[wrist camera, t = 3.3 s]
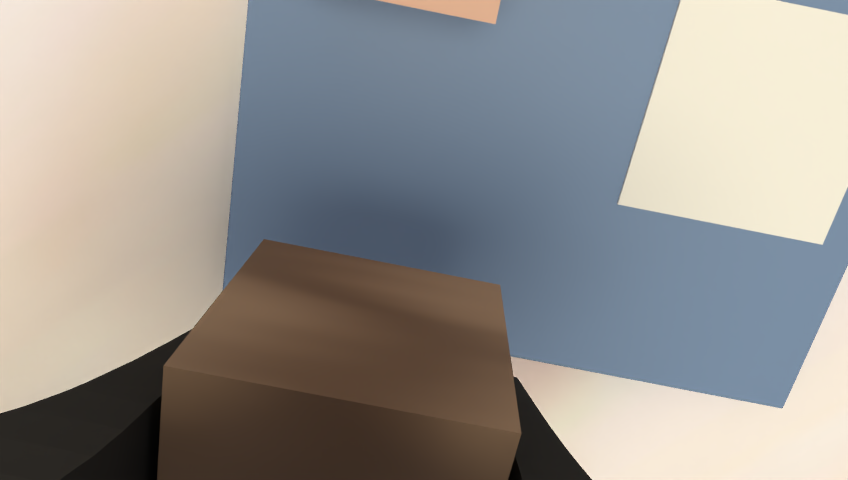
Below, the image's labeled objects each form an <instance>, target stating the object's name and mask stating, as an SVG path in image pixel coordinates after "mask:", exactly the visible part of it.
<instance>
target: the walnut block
mask: <svg viewBox="0 0 848 480" xmlns="http://www.w3.org/2000/svg"><path fill="white" fill-rule="evenodd" d="M520 437H521V427H520V420H519V413H518V406H517V399H516V392H515V385H514V378H513V371H512V364H511V357H510V350H509V343H508V336H507V329H506V322H505V315H504V308H503V301H502V294H501V287H500V285H499V284H493V283H488V282H483V281H478V280H473V279H468V278H463V277H457V276H452V275H447V274H442V273H437V272H432V271H427V270H421V269H416V268H411V267H406V266H401V265H396V264H390V263H385V262H380V261H375V260H370V259H365V258H360V257H354V256H349V255H344V254H339V253H334V252H329V251H324V250H318V249H313V248H308V247H303V246H298V245H293V244H288V243H282V242H277V241H272V240H267V239H263V241H262V242H261V243H260V244H259V246H258V247H257V248H256V250H255V251H254V252H253V253H252V255H251V256H250V257H249V258H248V260H247V261H246V262H245V263H244V265H243V266H242V267H241V268H240V270H239V271H238V272H237V273H236V275H235V276H234V277H233V279H232V280H231V281H230V282H229V284H228V285H227V286H226V287H225V289H224V290H223V291H222V292H221V294H220V295H219V296H218V297H217V299H216V300H215V301H214V303H213V304H212V305H211V306H210V308H209V309H208V310H207V311H206V313H205V314H204V315H203V316H202V318H201V319H200V320H199V321H198V323H197V324H196V325H195V326H194V328H193V329H192V330H191V332H190V333H189V334H188V335H187V337H186V338H185V339H184V340H183V342H182V343H181V344H180V345H179V347H178V348H177V349H176V350H175V352H174V353H173V354H172V356H171V357H170V358H169V359H168V361H167V362H166V363H165V364H164V366H163V383H162V400H161V418H160V435H159V453H158V470H157V480H508V478H509V474H510V471H511V468H512V464H513V461H514V457H515V454H516V450H517V447H518V444H519V440H520Z"/></svg>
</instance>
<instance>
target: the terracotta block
mask: <svg viewBox="0 0 848 480" xmlns="http://www.w3.org/2000/svg"><path fill="white" fill-rule="evenodd" d="M378 1H383V2H388V3H393V4H397V5H402V6H407V7H412V8H417V9H422V10H427V11H432V12H437V13H442V14H447V15H452V16H457V17H462V18H467V19H472V20H477V21H482V22H487V23H492V24H496V20H497V15H498V10H499V6H500V1H501V0H378Z"/></svg>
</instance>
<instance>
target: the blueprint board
mask: <svg viewBox="0 0 848 480" xmlns="http://www.w3.org/2000/svg"><path fill="white" fill-rule="evenodd" d="M263 239H267V240H272V241H277V242H282V243H288V244H293V245H298V246H303V247H308V248H313V249H318V250H324V251H329V252H334V253H339V254H344V255H349V256H354V257H360V258H365V259H370V260H375V261H380V262H385V263H390V264H396V265H401V266H406V267H411V268H416V269H421V270H427V271H432V272H437V273H442V274H447V275H452V276H457V277H463V278H468V279H473V280H478V281H483V282H488V283H493V284H499V285H500V287H501V294H502V301H503V308H504V315H505V322H506V329H507V336H508V343H509V350H510V356H513V357H518V358H523V359H528V360H533V361H539V362H544V363H549V364H554V365H559V366H565V367H570V368H575V369H580V370H585V371H591V372H596V373H601V374H606V375H611V376H617V377H622V378H627V379H632V380H637V381H643V382H648V383H653V384H658V385H663V386H669V387H674V388H679V389H684V390H689V391H695V392H700V393H705V394H710V395H715V396H721V397H726V398H731V399H736V400H741V401H747V402H752V403H757V404H762V405H767V406H773V407H778V408H783V406H784V404H785V402H786V400H787V397H788V395H789V393H790V391H791V389H792V386H793V384H794V382H795V380H796V378H797V375H798V373H799V371H800V369H801V367H802V364H803V362H804V360H805V358H806V356H807V353H808V351H809V349H810V347H811V345H812V342H813V340H814V338H815V336H816V334H817V331H818V329H819V327H820V325H821V323H822V320H823V318H824V316H825V314H826V312H827V310H828V307H829V305H830V303H831V301H832V299H833V296H834V294H835V292H836V290H837V288H838V285H839V283H840V281H841V279H842V277H843V274H844V272H845V270H846V268H847V266H848V0H501V1H500V6H499V10H498V15H497V20H496V24H492V23H487V22H482V21H477V20H472V19H467V18H462V17H457V16H452V15H447V14H442V13H437V12H432V11H427V10H422V9H417V8H412V7H407V6H402V5H397V4H393V3H388V2H383V1H378V0H248V11H247V23H246V34H245V45H244V57H243V68H242V79H241V91H240V102H239V113H238V124H237V136H236V147H235V158H234V170H233V181H232V192H231V204H230V215H229V226H228V237H227V249H226V260H225V271H224V283H223V290H224V289H225V287H226V286H227V285H228V284H229V282H230V281H231V280H232V279H233V277H234V276H235V275H236V273H237V272H238V271H239V270H240V268H241V267H242V266H243V265H244V263H245V262H246V261H247V260H248V258H249V257H250V256H251V255H252V253H253V252H254V251H255V250H256V248H257V247H258V246H259V244H260V243H261V242H262V241H263Z"/></svg>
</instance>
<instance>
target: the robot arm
mask: <svg viewBox="0 0 848 480" xmlns="http://www.w3.org/2000/svg"><path fill="white" fill-rule="evenodd" d="M191 330H192V329H191ZM191 330H190V331H188V332H186V333H184V334H182V335H181V336H179V337H177V338H175V339H173V340H171V341H170V342H168V343H166V344H164V345H162V346H160V347H158V348H156V349H155V350H153V351H151V352H149V353H147V354H145V355H143V356H141V357H139V358H138V359H136V360H134V361H132V362H129V363H127V364H125V365H123V366H121V367H119V368H117V369H114V370H112V371H110V372H108V373H106V374H104V375H102V376H99V377H97V378H95V379H93V380H91V381H89V382H87V383H84V384H82V385H79V386H77V387H75V388H72V389H70V390H67V391H65V392H62V393H60V394H57V395H54V396H51V397H49V398H46V399H43V400H40V401H38V402H35V403H32V404H29V405H26V406H23V407H20V408H17V409H14V410H11V411H7V412H4V413H0V480H157V470H158V453H159V435H160V418H161V400H162V383H163V366H164V364H165V363H166V362H167V361H168V359H169V358H170V357H171V356H172V354H173V353H174V352H175V350H176V349H177V348H178V347H179V345H180V344H181V343H182V342H183V340H184V339H185V338H186V337H187V335H188V334H189V333H190V332H191ZM513 378H514V385H515V392H516V399H517V406H518V413H519V420H520V427H521V437H520V440H519V444H518V447H517V450H516V454H515V457H514V461H513V464H512V468H511V471H510V474H509V478H508V480H592V479H591V478H590V477H589V476H588V475H587V473H586V472H585V471H584V470H583V469H582V467H581V466H580V465H579V464H578V463H577V461H576V460H575V459H574V458H573V456H572V455H571V454H570V453H569V451H568V450H567V449H566V448H565V446H564V445H563V444H562V442H561V441H560V440H559V438H558V437H557V435H556V434H555V433H554V431H553V430H552V429H551V427H550V426H549V424H548V423H547V422H546V420H545V419H544V417H543V416H542V414H541V413H540V411H539V410H538V408H537V407H536V405H535V404H534V402H533V401H532V399H531V398H530V396H529V395H528V393H527V392H526V390H525V389H524V387H523V386H522V384H521V383H520V381H519V380H518V378H516V377H513Z"/></svg>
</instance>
